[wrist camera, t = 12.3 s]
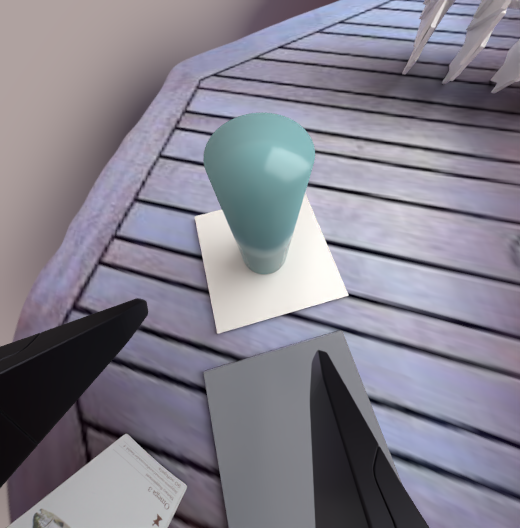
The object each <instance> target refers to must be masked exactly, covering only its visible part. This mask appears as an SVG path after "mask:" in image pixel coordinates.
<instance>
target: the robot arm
mask: <svg viewBox="0 0 520 528" xmlns="http://www.w3.org/2000/svg"><path fill="white" fill-rule="evenodd" d="M147 315H148V308H147V303H146V301H145V300H143V299H139V298H137V299H134V300H131V301H128V302H126V303H123V304H120V305H117V306H114V307H111V308H109V309H106V310H103V311H100V312H97V313H95V314H92V315H89V316H86V317H83V318H81V319H78V320H75V321H72V322H69V323H66V324H64V325H61V326H58V327H55V328H52V329H50V330H47V331H44V332H42V333H41V334H40V333H38V334H35V335H33V336H30V337H27V338H24V339H21V340H18V341H15V342H13V343H10V344H7V345H4V346H1V347H0V488H1V487H2V485H3V484H4V483H5V482H6V481H7V480H8V479H9V477H10V476H11V475H12V474H13V473H14V472H15V471H16V469H17V468H18V467H19V466H20V465H21V464H22V463H23V461H24V460H25V459H26V458H27V457H28V456H29V455H30V453H31V452H32V451H33V450H34V449H35V448H36V447H37V445H38V444H39V443H40V442H41V441H42V440H43V438H44V437H45V436H46V435H47V434H48V433H49V432H50V430H51V429H52V428H53V427H54V426H55V425H56V424H57V422H58V421H59V420H60V419H61V418H62V417H63V416H64V414H65V413H66V412H67V411H68V410H69V409H70V408H71V406H72V405H73V404H74V403H75V402H76V401H77V400H78V398H79V397H80V396H81V395H82V394H83V393H84V392H85V390H86V389H87V388H88V387H89V386H90V385H91V384H92V382H93V381H94V380H95V379H96V378H97V377H98V376H99V374H100V373H101V372H102V371H103V370H104V369H105V368H106V366H107V365H108V364H109V363H110V362H111V361H112V360H113V358H114V357H115V356H116V355H117V354H118V353H119V352H120V350H121V349H122V348H123V347H124V346H125V345H126V343H127V342H128V341H129V340H130V338H131V337H132V336H133V334H134V333H135V332H136V330H137V329H138V327H139V326H140V325H141V323H142V322H143V321H144V319H145V318H146V316H147ZM310 422H311V444H312V465H313V487H314V508H315V528H429V526H428V525H427V523H426V522H425V520H424V519H423V517H422V515H421V514H420V512H419V511H418V509H417V508H416V506H415V504H414V503H413V501H412V500H411V498H410V496H409V495H408V493H407V492H406V490H405V488H404V487H403V485H402V484H401V482H400V480H399V478H398V477H397V475H396V473H395V472H394V470H393V468H392V467H391V465H390V463H389V461H388V460H387V458H386V456H385V454H384V453H383V451H382V449H381V447H380V446H379V444H378V442H377V440H376V438H375V437H374V435H373V433H372V431H371V430H370V428H369V426H368V424H367V422H366V421H365V419H364V417H363V415H362V414H361V412H360V410H359V408H358V406H357V405H356V403H355V401H354V399H353V398H352V396H351V394H350V392H349V390H348V389H347V387H346V385H345V383H344V382H343V380H342V378H341V376H340V374H339V373H338V371H337V369H336V367H335V366H334V364H333V362H332V360H331V358H330V357H329V355H328V353H327V352H326V351H323V350H317V351H316V353H315V356H314V358H313V360H312V365H311V382H310Z"/></svg>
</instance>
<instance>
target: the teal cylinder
mask: <svg viewBox="0 0 520 528" xmlns="http://www.w3.org/2000/svg"><path fill="white" fill-rule="evenodd" d="M314 159H315V149H314V144H313V142H312V139H311V137H310V136H309V134H308V133H307V132H306V130H305V129H304V128H303V127H302V126H301V125H299V124H298V123H296V122H295V121H293V120H291V119H289V118H287V117H284V116H281V115H278V114H272V113H251V114H246V115H242V116H239V117H237V118H234V119H232V120H230V121H228V122H226V123H225V124H223V125H222V126H221V127H219V128H218V129H217V130H216V131H215V132H214V133H213V135H212V136H211V137H210V139H209V141H208V142H207V144H206V147H205V151H204V166H205V170H206V172H207V175H208V177H209V180H210V182H211V184H212V187H213V189H214V191H215V194H216V196H217V199H218V201H219V203H220V206H221V208H222V210H223V213H224V215H225V218H226V220H227V222H228V225H229V227H230V229H231V232H232V234H233V237H234V239H235V241H236V244H237V246H238V248H239V251H240V253H241V256H242V258H243V260H244V263H245V264H246V266H247V267H248V268H249V269H250V270H251V271H253V272H255V273H258V274H264V275H265V274H271V273H274V272H276V271H277V270H279V269H280V268H281V267H282V266H283V264H284V262H285V260H286V257H287V253H288V250H289V246H290V243H291V240H292V236H293V233H294V229H295V226H296V222H297V219H298V215H299V212H300V209H301V205H302V202H303V198H304V195H305V191H306V188H307V184H308V181H309V178H310V174H311V171H312V167H313V164H314Z"/></svg>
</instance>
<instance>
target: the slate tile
mask: <svg viewBox="0 0 520 528" xmlns="http://www.w3.org/2000/svg"><path fill="white" fill-rule="evenodd" d="M317 350H323V351H326V352H327V353H328V355H329V357H330V358H331V360H332V362H333V364H334V366H335V367H336V369H337V371H338V373H339V374H340V376H341V378H342V380H343V382H344V383H345V385H346V387H347V389H348V390H349V392H350V394H351V396H352V398H353V399H354V401H355V403H356V405H357V406H358V408H359V410H360V412H361V414H362V415H363V417H364V419H365V421H366V422H367V424H368V426H369V428H370V430H371V431H372V433H373V435H374V437H375V438H376V440H377V442H378V444H379V446H380V447H381V449H382V451H383V453H384V454H385V456H386V458H387V460H388V461H389V463H390V465H391V467H392V468H393V470H394V472H395V473H396V475H397V477H398V478H399V475H398V473H397V470H396V467H395V465H394V462H393V460H392V457H391V455H390V452H389V450H388V447H387V444H386V442H385V439H384V437H383V434H382V432H381V429H380V426H379V424H378V421H377V419H376V416H375V414H374V411H373V409H372V406H371V403H370V401H369V398H368V396H367V393H366V391H365V388H364V386H363V383H362V380H361V378H360V375H359V373H358V370H357V368H356V365H355V362H354V360H353V357H352V355H351V352H350V350H349V347H348V345H347V342H346V339H345V337H344V334H343V332H342V331H341V330H339V331H336V332H332V333H329V334H326V335H322V336H319V337H316V338H312V339H309V340H306V341H302V342H299V343H296V344H292V345H289V346H286V347H282V348H279V349H276V350H272V351H269V352H266V353H262V354H259V355H256V356H252V357H249V358H246V359H242V360H239V361H236V362H232V363H229V364H226V365H222V366H219V367H216V368H212V369H209V370H206V371H204V372H203V373H204V379H205V385H206V391H207V397H208V404H209V410H210V416H211V422H212V428H213V434H214V440H215V446H216V452H217V459H218V465H219V471H220V477H221V483H222V489H223V495H224V501H225V508H226V514H227V520H228V526H229V528H315V508H314V487H313V465H312V444H311V422H310V382H311V365H312V360H313V358H314V356H315V353H316V351H317ZM399 480H400V478H399ZM400 482H401V480H400ZM401 484H402V483H401Z"/></svg>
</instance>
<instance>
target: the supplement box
mask: <svg viewBox="0 0 520 528" xmlns="http://www.w3.org/2000/svg"><path fill="white" fill-rule="evenodd" d="M186 489H187V486H186V484H184V483H183V482H182V481H180V480H179V479H178V478H176V477H175V476H174V475H173V474H171V473H170V472H169V471H168V470H166V469H165V468H164V467H163V466H162V465H160V464H159V463H158V462H157V461H156V460H155V459H154V458H153V457H152V456H151V455H149V454H148V453H147V452H146V451H145V450H144V449H143V448H142V447H140V446H139V445H138V444H137V443H136V442H135V441H134V440H133V439H132V438H131V437H130V436H129V435H128V434H124V435H123V436H122V437H120V438H119V439H118V440H116V441H115V442H114V443H113V444H111V445H110V446H109V447H108V448H106V449H105V450H104V451H103V452H101V453H100V454H99V455H98V456H96V457H95V458H94V459H93V460H91V461H90V462H89V463H88V464H86V465H85V466H83V467H82V468H81V469H80V470H79V471H77V472H76V473H75V474H74V475H72V476H71V477H70V478H68V479H67V480H66V481H65V482H64V483H62V484H61V485H60V486H58V487H57V488H56V489H55V490H53V491H52V492H51V493H50V494H48V495H47V496H46V497H44V498H43V499H42V500H41V501H39V502H38V503H37V504H36V505H35V506H33V507H32V508H31V509H30V510H28V511H27V512H26V513H24V514H23V515H22V516H20V517H19V518H18V519H17V520H15V521H14V522H13V523H11V524H10V525H9V526H8V527H6V528H168V526H169V524H170V522H171V520H172V518H173V516H174V514H175V512H176V509H177V507H178V505H179V503H180V501H181V499H182V497H183V495H184V493H185V491H186Z"/></svg>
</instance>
